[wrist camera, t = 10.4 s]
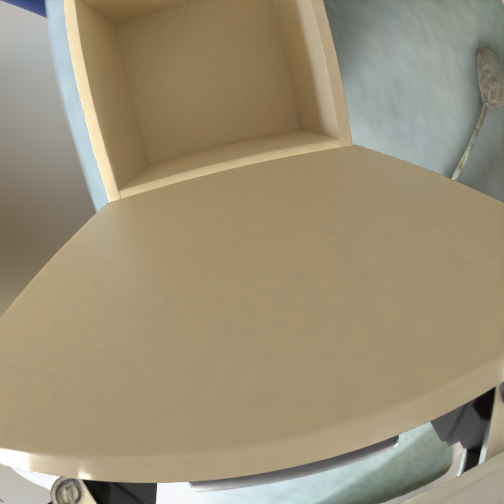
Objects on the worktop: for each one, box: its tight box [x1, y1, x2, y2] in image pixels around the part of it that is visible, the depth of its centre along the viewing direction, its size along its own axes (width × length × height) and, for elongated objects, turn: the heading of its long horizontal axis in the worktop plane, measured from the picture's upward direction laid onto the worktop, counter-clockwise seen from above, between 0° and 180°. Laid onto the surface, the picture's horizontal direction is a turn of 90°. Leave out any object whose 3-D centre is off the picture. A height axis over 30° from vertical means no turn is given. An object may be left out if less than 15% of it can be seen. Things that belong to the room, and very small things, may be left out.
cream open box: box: [63, 0, 352, 202], centre depth 19 cm, size 15×15×10 cm
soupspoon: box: [451, 46, 504, 181], centre depth 25 cm, size 22×3×7 cm
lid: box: [0, 145, 504, 492], centre depth 11 cm, size 15×15×5 cm
